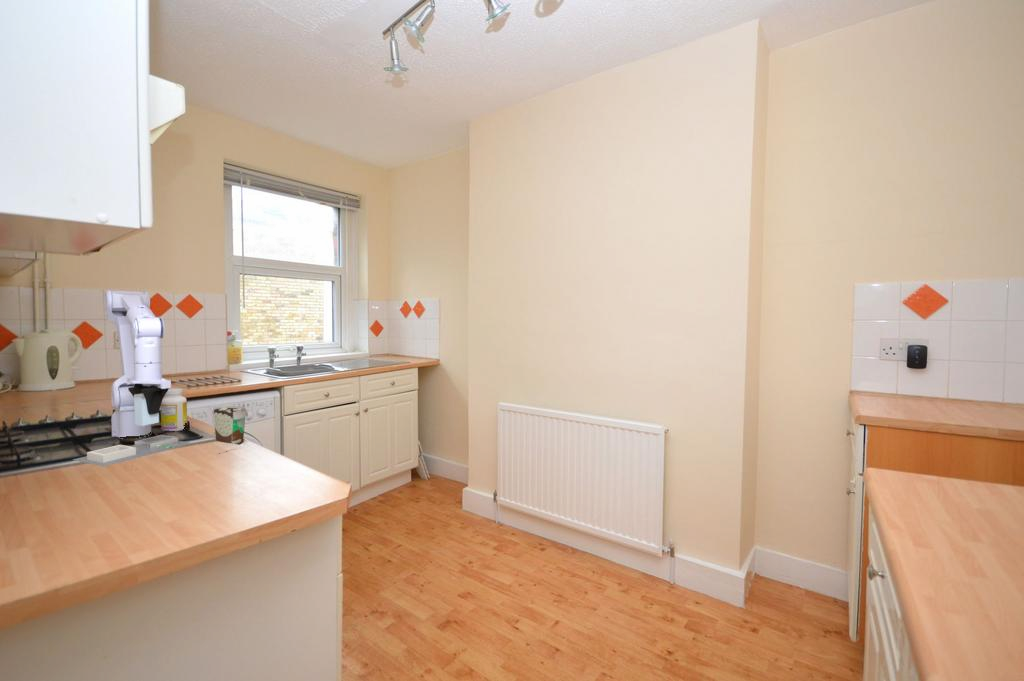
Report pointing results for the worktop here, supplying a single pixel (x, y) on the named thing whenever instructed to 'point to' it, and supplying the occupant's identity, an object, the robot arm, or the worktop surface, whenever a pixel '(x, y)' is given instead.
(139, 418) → the plug
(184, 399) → the supplement bottle
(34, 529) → the worktop surface
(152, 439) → the port
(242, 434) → the food container
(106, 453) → the frame
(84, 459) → the panel
